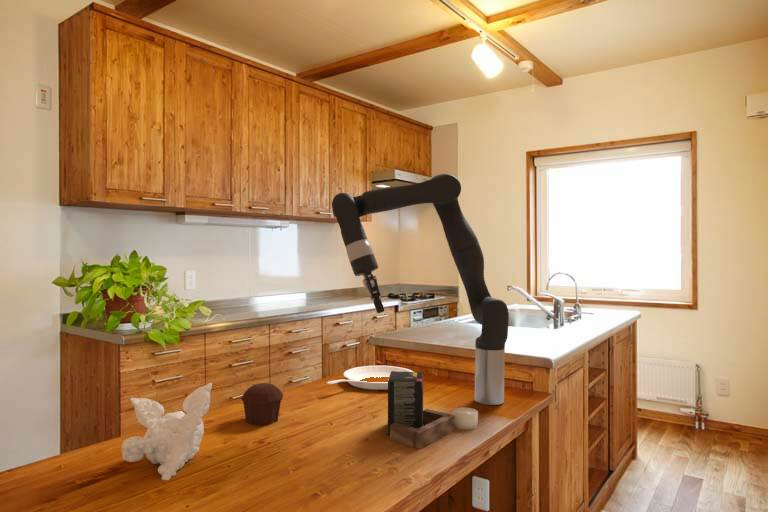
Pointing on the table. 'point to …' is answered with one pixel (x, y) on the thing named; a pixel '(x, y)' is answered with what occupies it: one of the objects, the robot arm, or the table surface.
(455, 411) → the rounded cream block
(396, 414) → the tampon box
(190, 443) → the white animal figurine
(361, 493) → the table surface
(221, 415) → the table surface
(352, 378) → the pan
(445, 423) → the frame
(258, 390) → the muffin
